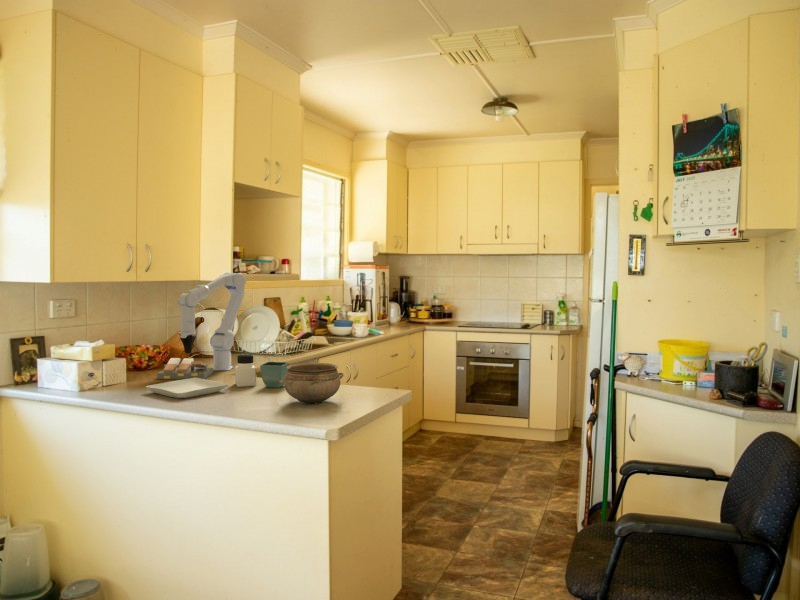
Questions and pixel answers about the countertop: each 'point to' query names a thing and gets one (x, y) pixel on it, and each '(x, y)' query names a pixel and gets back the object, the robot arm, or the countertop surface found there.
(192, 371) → the switch unit
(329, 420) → the countertop surface
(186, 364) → the middle rocker
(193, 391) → the salad plate
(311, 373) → the cooking pot
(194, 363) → the right rocker
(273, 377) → the flower pot
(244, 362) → the medicine bottle
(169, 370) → the left rocker
